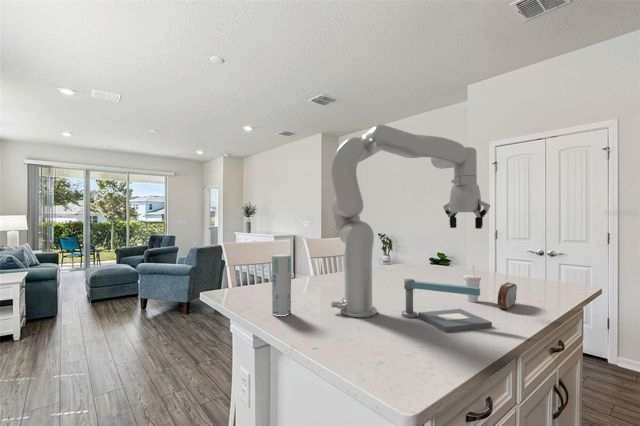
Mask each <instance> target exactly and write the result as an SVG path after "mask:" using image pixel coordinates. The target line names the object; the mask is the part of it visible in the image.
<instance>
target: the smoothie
mask: <svg viewBox="0 0 640 426" xmlns="http://www.w3.org/2000/svg"><path fill="white" fill-rule="evenodd" d="M471 272H472V273H471V274H463V275H462V279H463V283H464V286H470V287H480V283H481V280H482V277H481V276H479V275H475V265H474V264H472V271H471ZM465 297H466V301H467V302H468V303H478V300H479V296H476V295H467V294H465Z"/></svg>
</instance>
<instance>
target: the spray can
mask: <svg viewBox="0 0 640 426" xmlns="http://www.w3.org/2000/svg"><path fill="white" fill-rule="evenodd" d="M271 279H272V281H271V284H272V285H271V286H272V289H271V290H272V291H271V292H272V293H271V294H272V296H271V297H272V299H271V300H272V301H271V302H272V303H271V305H272V308H271V309H272V315H273V314H276V315H286V314H289V313H292V312H291V311H292V255H291V254H287V253H281V254H280V253H279V254H278V253H277V254H272V255H271Z"/></svg>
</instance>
